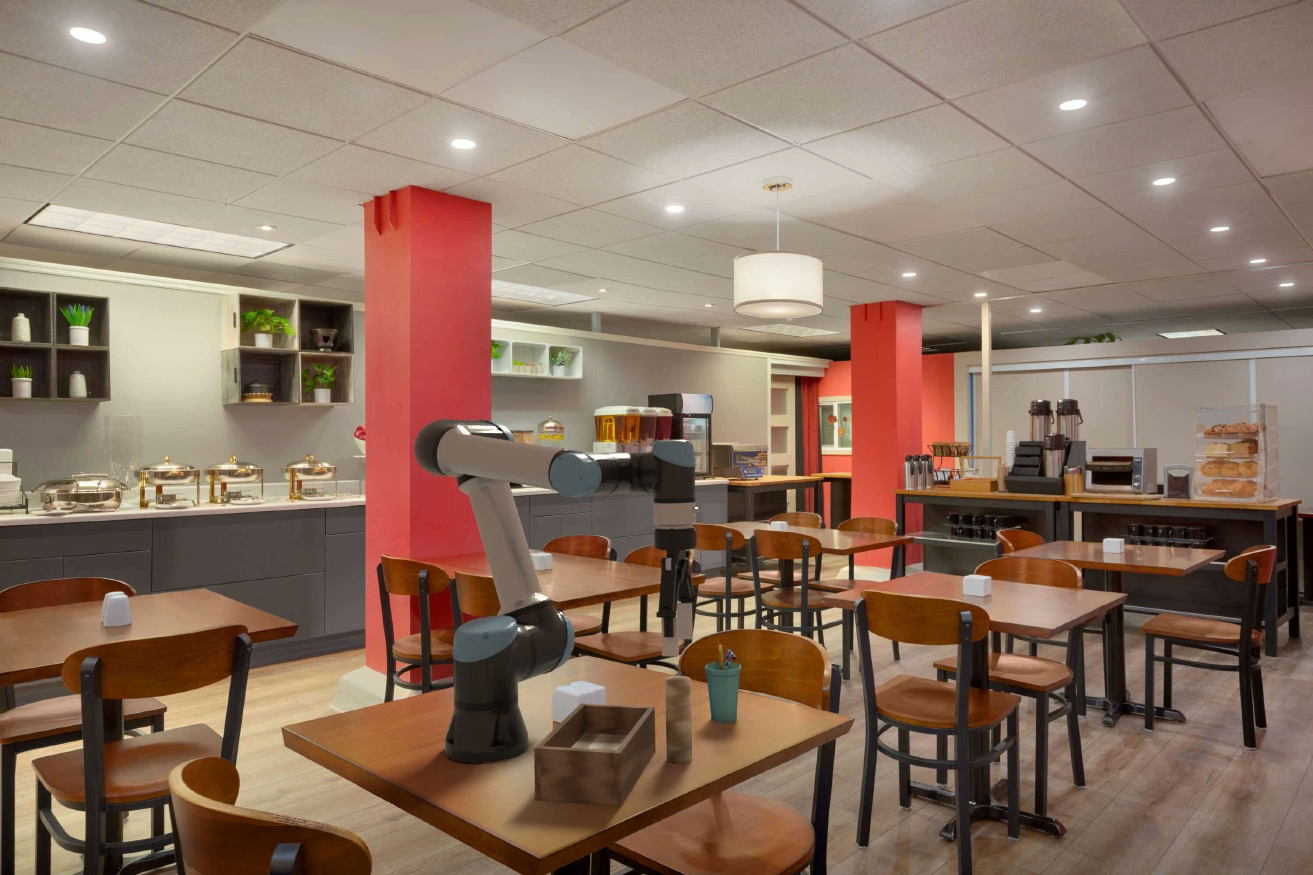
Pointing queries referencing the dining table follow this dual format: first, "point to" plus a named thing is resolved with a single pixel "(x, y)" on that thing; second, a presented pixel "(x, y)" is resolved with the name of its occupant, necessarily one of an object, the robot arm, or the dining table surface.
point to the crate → (595, 754)
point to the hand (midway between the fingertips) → (678, 646)
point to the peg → (678, 719)
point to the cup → (723, 687)
